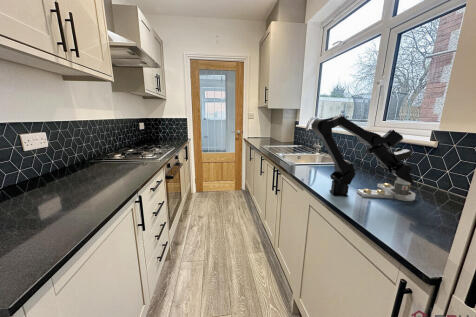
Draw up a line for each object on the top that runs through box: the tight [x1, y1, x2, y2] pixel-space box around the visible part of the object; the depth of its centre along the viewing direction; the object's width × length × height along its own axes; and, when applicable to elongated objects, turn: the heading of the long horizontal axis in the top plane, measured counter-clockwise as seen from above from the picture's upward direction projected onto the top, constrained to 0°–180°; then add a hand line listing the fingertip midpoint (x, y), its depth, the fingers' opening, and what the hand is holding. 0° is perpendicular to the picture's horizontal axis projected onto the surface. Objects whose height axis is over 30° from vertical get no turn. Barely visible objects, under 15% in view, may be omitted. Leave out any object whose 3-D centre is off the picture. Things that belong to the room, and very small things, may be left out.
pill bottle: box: [393, 176, 411, 195], centre depth 90 cm, size 6×6×10 cm
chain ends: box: [356, 182, 416, 202], centre depth 96 cm, size 23×18×3 cm
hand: (407, 179), depth 89 cm, fingers open, 9 cm apart
